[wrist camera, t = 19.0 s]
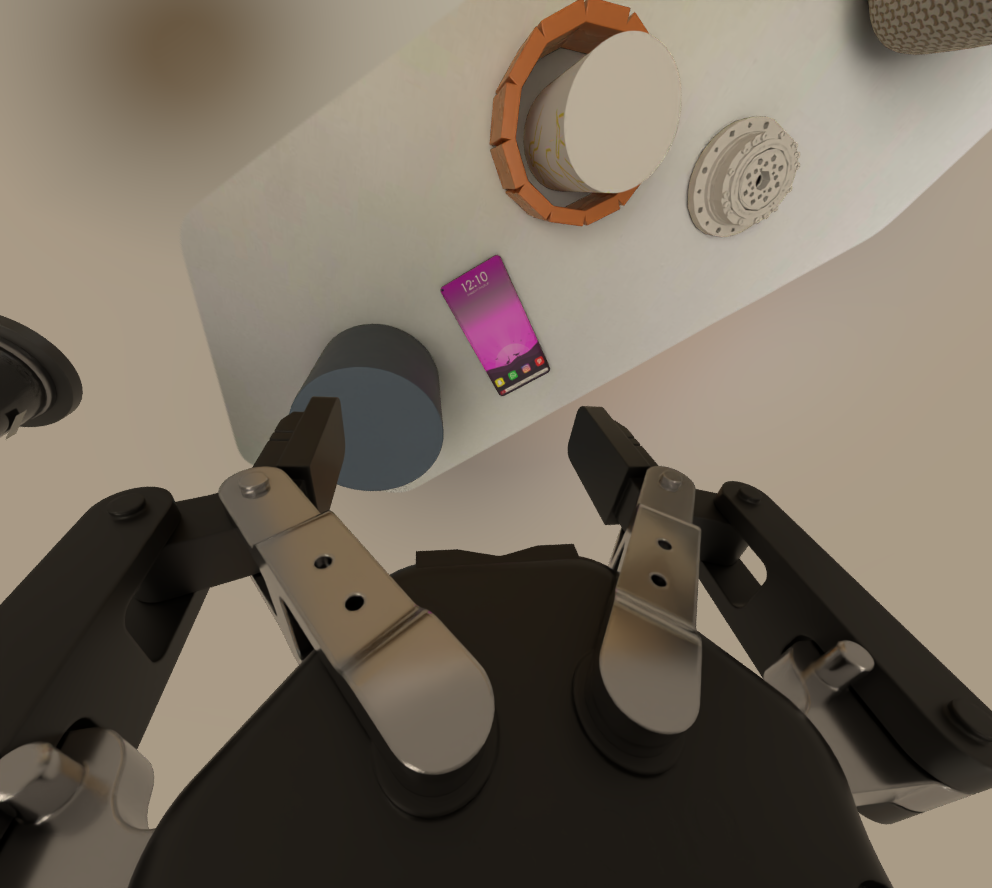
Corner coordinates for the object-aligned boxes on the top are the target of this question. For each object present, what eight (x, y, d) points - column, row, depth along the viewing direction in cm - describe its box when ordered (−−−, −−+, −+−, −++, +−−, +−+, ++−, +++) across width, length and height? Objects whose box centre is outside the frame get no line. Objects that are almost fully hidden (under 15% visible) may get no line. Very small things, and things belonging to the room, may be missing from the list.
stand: (341, 438, 48) (321, 502, 39) (298, 334, 40) (259, 381, 31) (447, 420, 49) (454, 478, 40) (426, 315, 41) (427, 354, 32)
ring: (483, 210, 37) (493, 214, 32) (501, 10, 29) (517, -24, 24) (607, 227, 39) (633, 233, 34) (652, 49, 32) (693, 24, 27)
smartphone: (499, 394, 48) (500, 397, 48) (438, 287, 40) (439, 289, 39) (549, 368, 47) (551, 370, 47) (498, 252, 39) (499, 253, 38)
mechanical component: (674, 164, 37) (698, 255, 42) (701, 162, 33) (724, 261, 39) (771, 91, 35) (783, 196, 40) (810, 80, 31) (818, 197, 37)
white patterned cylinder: (505, 136, 34) (539, 117, 24) (573, 49, 31) (642, -12, 21) (559, 211, 38) (607, 220, 28) (624, 139, 35) (701, 121, 25)
